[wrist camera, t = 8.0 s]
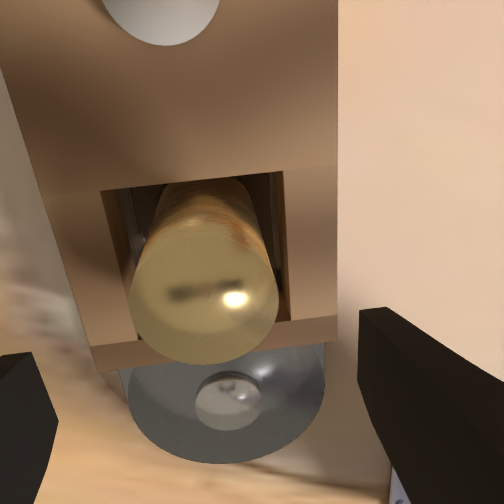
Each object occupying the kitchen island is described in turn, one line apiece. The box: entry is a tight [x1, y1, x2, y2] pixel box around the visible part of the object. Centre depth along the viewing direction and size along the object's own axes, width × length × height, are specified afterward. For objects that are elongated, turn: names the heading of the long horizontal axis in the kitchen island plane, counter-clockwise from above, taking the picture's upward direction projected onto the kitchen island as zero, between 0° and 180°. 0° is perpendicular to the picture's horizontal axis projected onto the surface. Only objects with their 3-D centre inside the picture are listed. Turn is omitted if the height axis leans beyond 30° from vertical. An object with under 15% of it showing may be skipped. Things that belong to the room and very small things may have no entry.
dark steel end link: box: [117, 172, 325, 464], centre depth 18 cm, size 16×9×3 cm, turn 5°
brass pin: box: [128, 176, 279, 365], centre depth 14 cm, size 4×4×7 cm
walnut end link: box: [0, 0, 338, 372], centre depth 14 cm, size 16×9×5 cm, turn 5°
